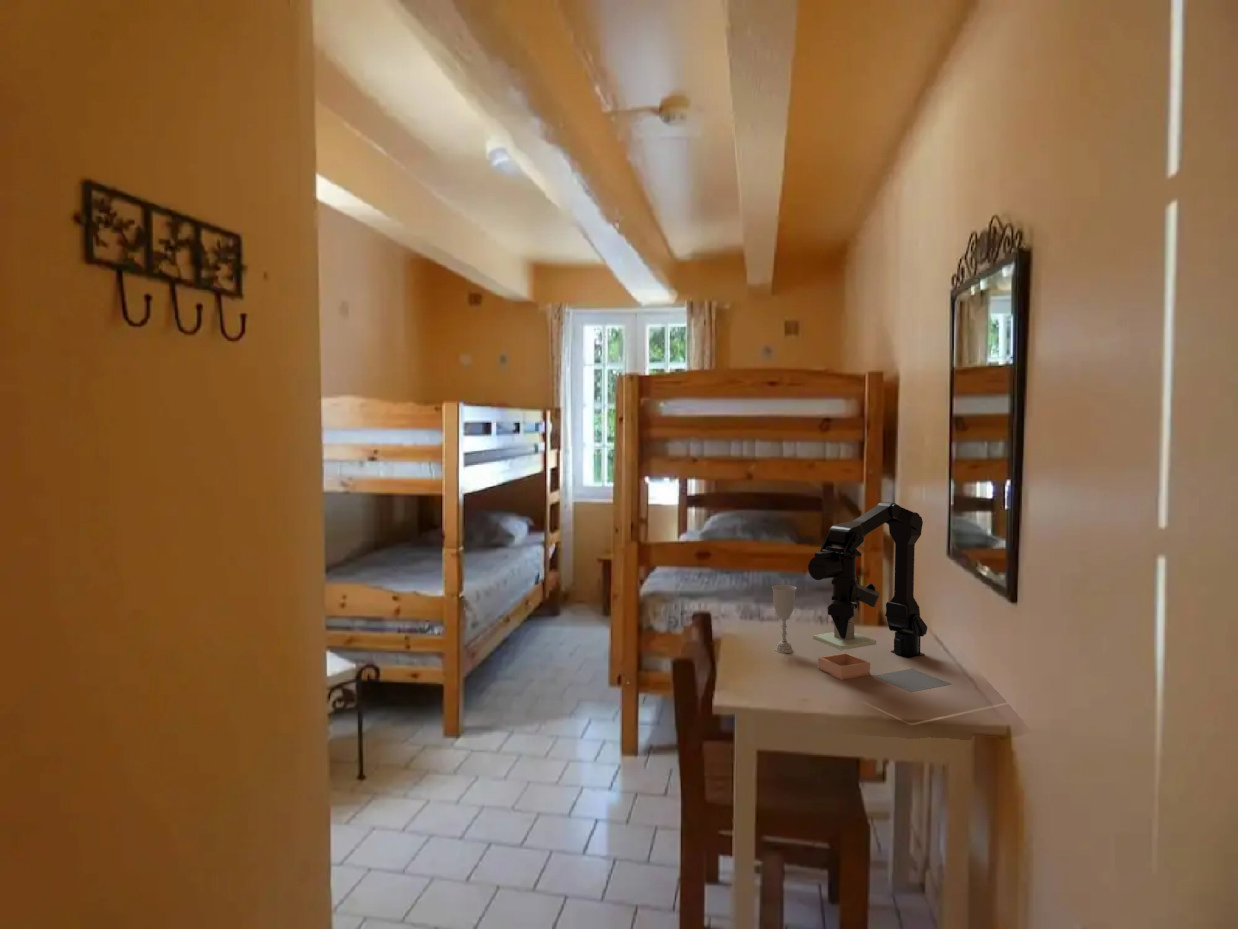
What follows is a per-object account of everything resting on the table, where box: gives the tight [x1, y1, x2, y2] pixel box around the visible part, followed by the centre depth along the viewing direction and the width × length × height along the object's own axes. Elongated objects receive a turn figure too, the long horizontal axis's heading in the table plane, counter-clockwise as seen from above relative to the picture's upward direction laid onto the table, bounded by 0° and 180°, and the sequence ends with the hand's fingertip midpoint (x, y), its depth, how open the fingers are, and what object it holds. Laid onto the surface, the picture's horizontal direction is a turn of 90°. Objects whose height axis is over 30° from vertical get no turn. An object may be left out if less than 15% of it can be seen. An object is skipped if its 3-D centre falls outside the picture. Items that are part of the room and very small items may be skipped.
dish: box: [817, 652, 871, 681], centre depth 194 cm, size 9×9×4 cm
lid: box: [812, 621, 877, 651], centre depth 194 cm, size 11×11×5 cm
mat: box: [872, 668, 952, 693], centre depth 188 cm, size 13×13×1 cm
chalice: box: [771, 584, 797, 654], centre depth 214 cm, size 7×7×18 cm
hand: (844, 635), depth 194 cm, fingers closed on lid, 5 cm apart
